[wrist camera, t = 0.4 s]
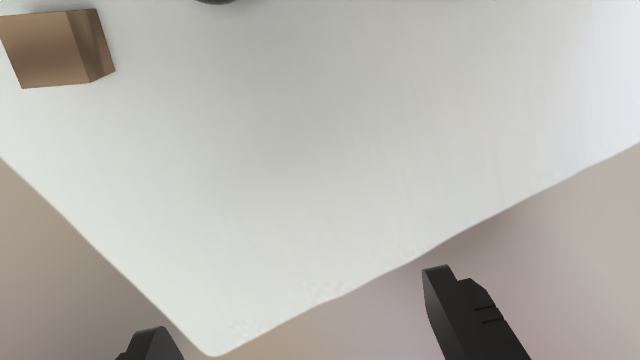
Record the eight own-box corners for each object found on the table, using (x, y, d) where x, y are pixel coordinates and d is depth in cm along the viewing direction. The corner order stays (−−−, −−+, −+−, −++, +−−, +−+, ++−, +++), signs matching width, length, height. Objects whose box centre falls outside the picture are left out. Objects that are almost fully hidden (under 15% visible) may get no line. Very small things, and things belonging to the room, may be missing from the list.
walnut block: (33, 13, 30) (-9, 16, 26) (96, 8, 31) (65, 11, 26) (57, 75, 33) (22, 88, 28) (115, 70, 33) (89, 82, 28)
